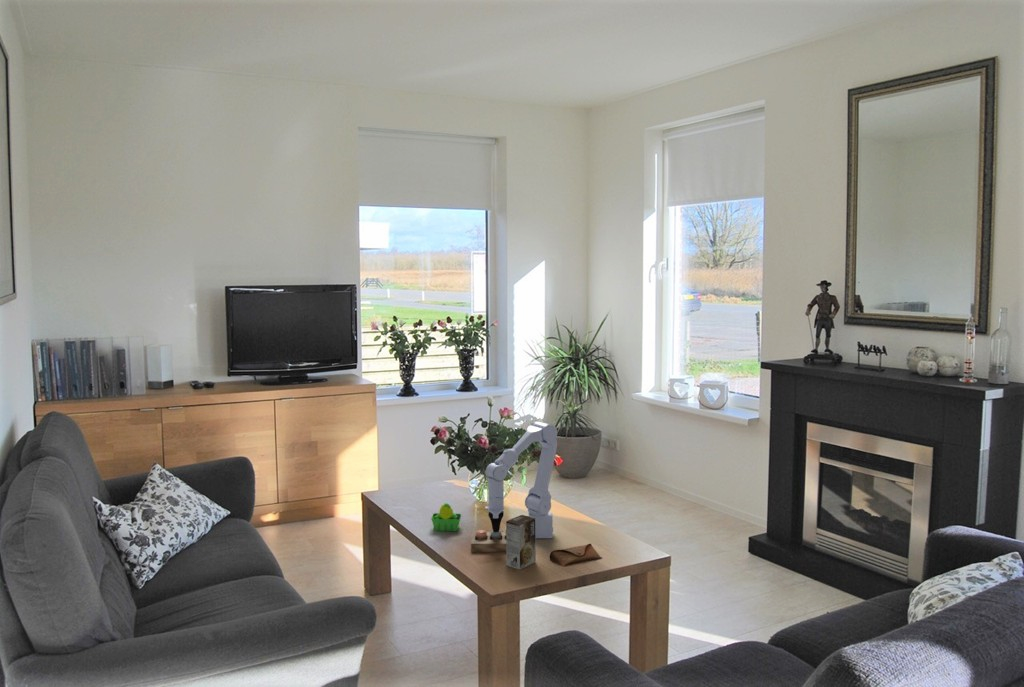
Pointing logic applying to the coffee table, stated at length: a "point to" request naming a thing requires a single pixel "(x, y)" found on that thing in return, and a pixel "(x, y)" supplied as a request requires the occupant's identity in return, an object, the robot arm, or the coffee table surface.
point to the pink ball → (481, 534)
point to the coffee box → (520, 542)
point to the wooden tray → (488, 543)
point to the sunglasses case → (574, 555)
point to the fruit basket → (446, 519)
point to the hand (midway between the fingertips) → (496, 531)
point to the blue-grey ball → (495, 535)
